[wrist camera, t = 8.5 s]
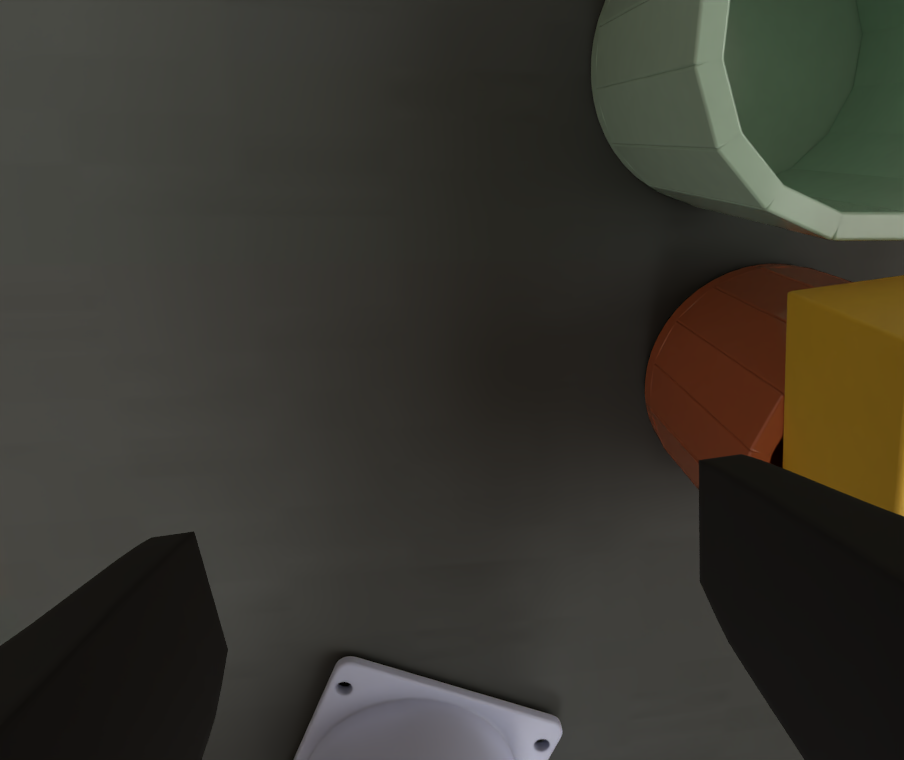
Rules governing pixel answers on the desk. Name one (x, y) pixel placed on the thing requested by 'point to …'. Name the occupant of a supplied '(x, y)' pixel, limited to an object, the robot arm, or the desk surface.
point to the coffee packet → (847, 389)
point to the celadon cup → (761, 108)
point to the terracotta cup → (726, 367)
